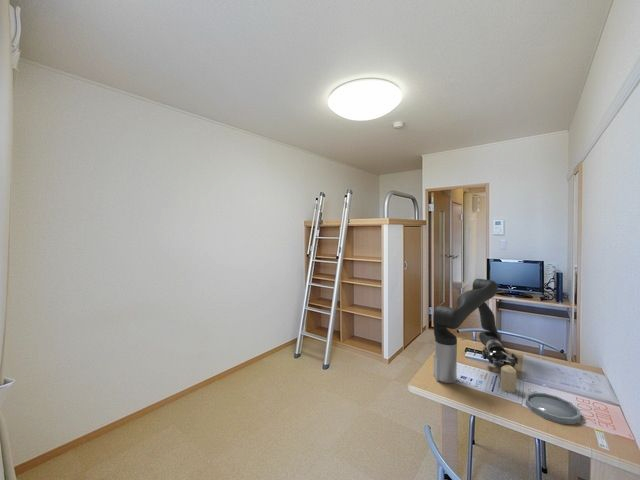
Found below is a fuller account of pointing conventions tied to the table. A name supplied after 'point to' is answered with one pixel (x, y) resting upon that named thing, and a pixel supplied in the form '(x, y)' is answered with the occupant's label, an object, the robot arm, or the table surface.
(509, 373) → the candle
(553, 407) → the dish
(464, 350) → the table surface
